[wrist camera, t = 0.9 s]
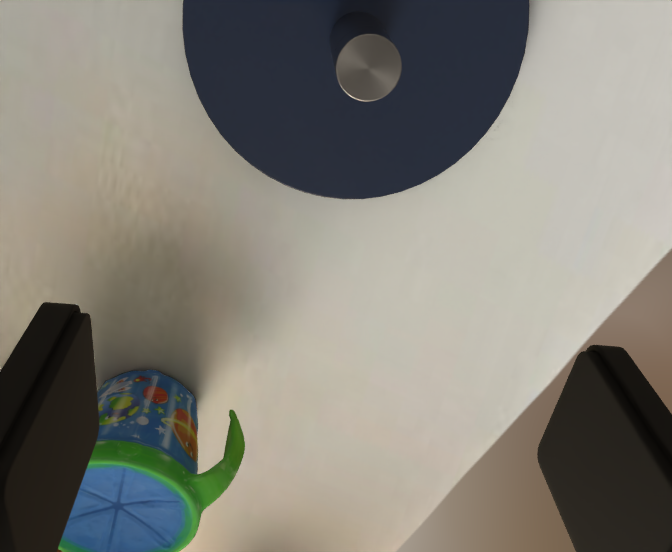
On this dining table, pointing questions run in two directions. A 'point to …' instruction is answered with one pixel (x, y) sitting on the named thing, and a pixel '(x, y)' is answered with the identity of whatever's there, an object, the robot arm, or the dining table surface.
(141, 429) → the snack cup
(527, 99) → the dining table surface
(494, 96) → the lid
